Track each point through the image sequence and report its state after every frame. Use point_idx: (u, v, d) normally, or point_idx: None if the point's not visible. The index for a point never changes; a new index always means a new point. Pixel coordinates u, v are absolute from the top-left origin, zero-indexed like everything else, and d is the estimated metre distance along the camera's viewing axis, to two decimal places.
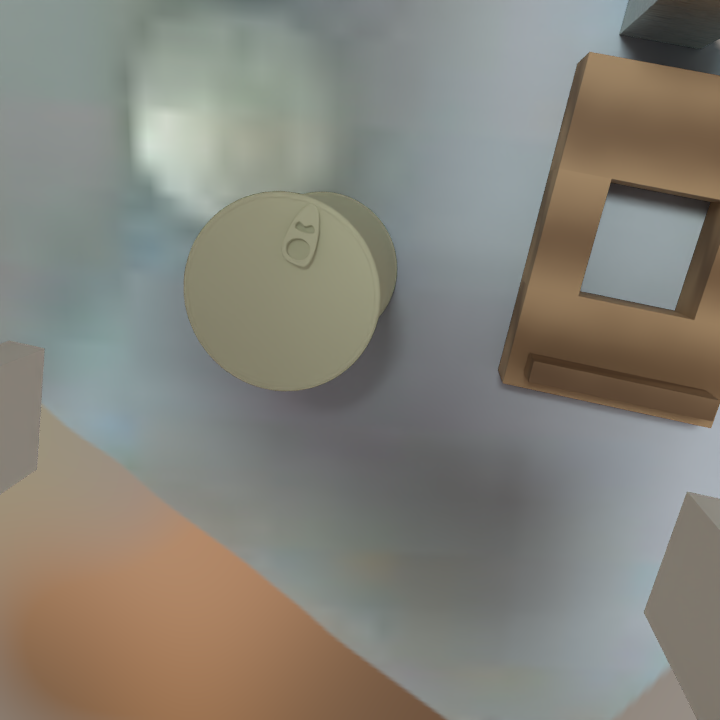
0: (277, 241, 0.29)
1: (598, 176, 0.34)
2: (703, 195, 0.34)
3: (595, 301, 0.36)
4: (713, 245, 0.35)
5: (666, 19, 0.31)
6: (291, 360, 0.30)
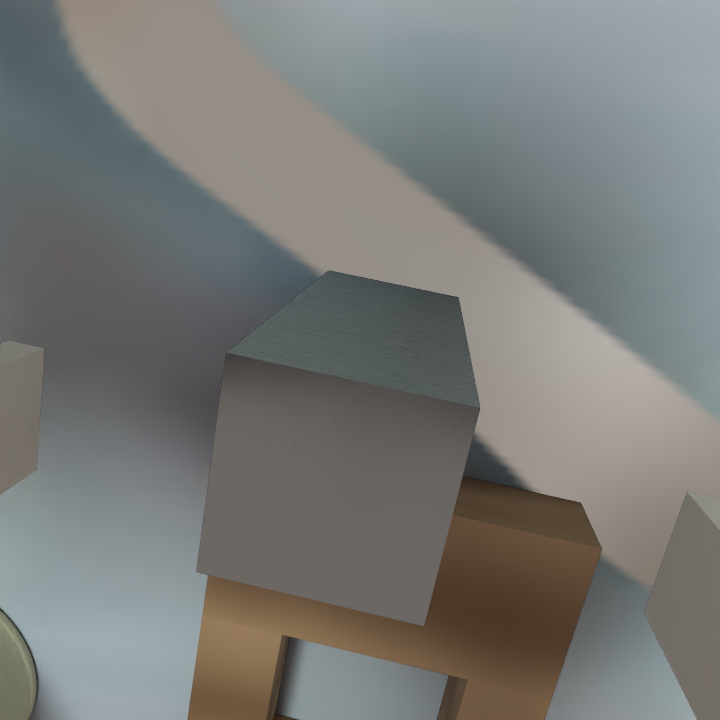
0: None
1: (261, 630, 0.22)
2: (421, 667, 0.22)
3: None
4: (451, 717, 0.23)
5: None
6: None
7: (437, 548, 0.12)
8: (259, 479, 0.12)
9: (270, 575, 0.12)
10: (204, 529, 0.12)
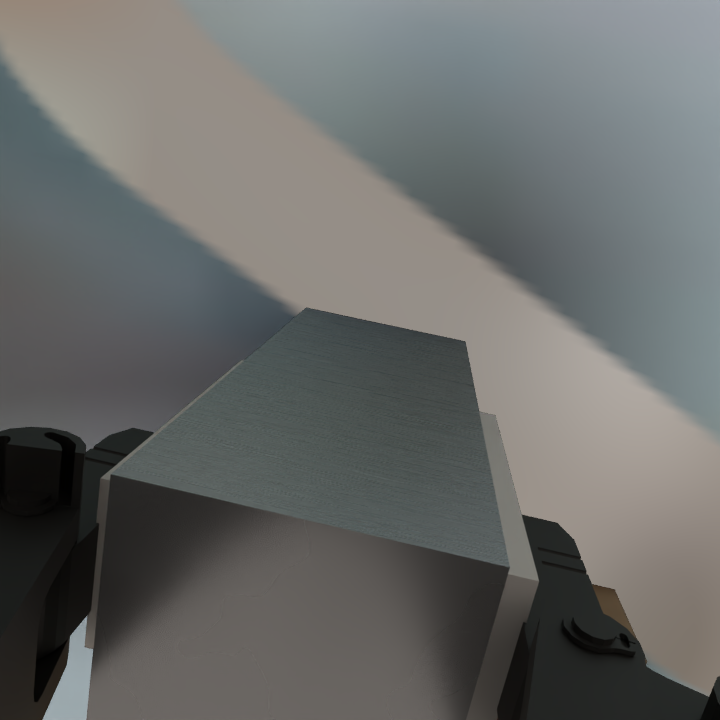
0: None
1: None
2: None
3: None
4: None
5: None
6: None
7: None
8: (168, 661, 0.08)
9: None
10: None
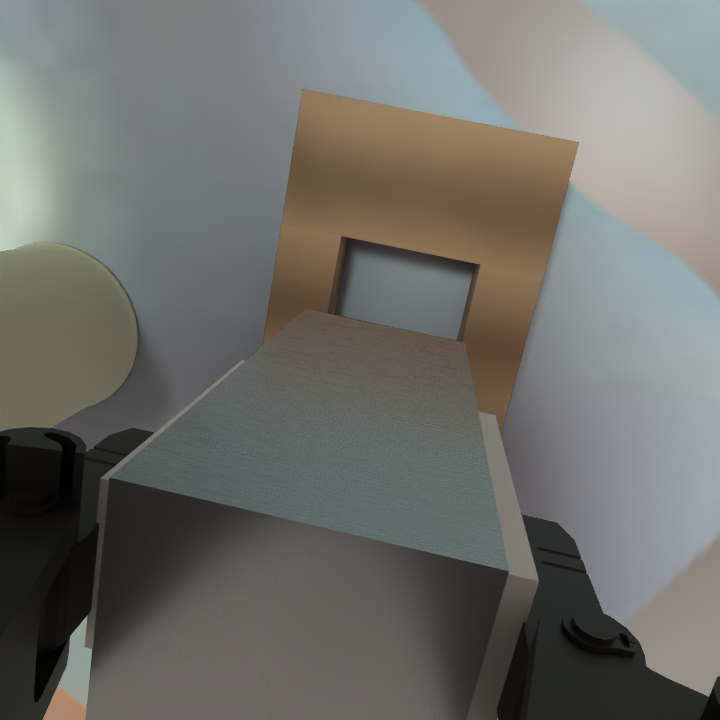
0: None
1: (326, 233, 0.29)
2: (445, 256, 0.29)
3: None
4: (467, 312, 0.30)
5: None
6: None
7: None
8: (167, 664, 0.08)
9: None
10: None
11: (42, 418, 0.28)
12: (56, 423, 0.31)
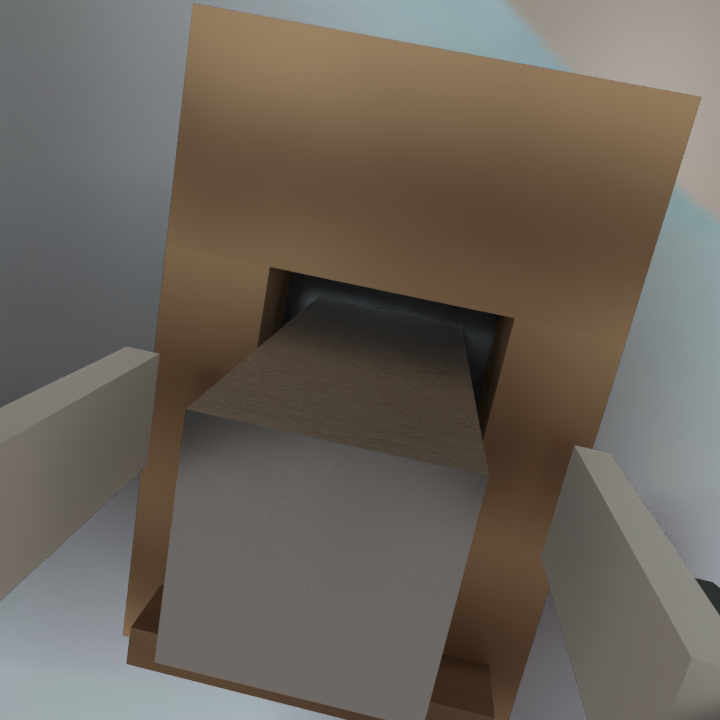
0: None
1: (243, 262, 0.17)
2: (453, 303, 0.16)
3: None
4: (490, 395, 0.18)
5: None
6: None
7: (438, 639, 0.10)
8: (227, 556, 0.10)
9: (241, 667, 0.10)
10: (163, 613, 0.10)
11: None
12: None
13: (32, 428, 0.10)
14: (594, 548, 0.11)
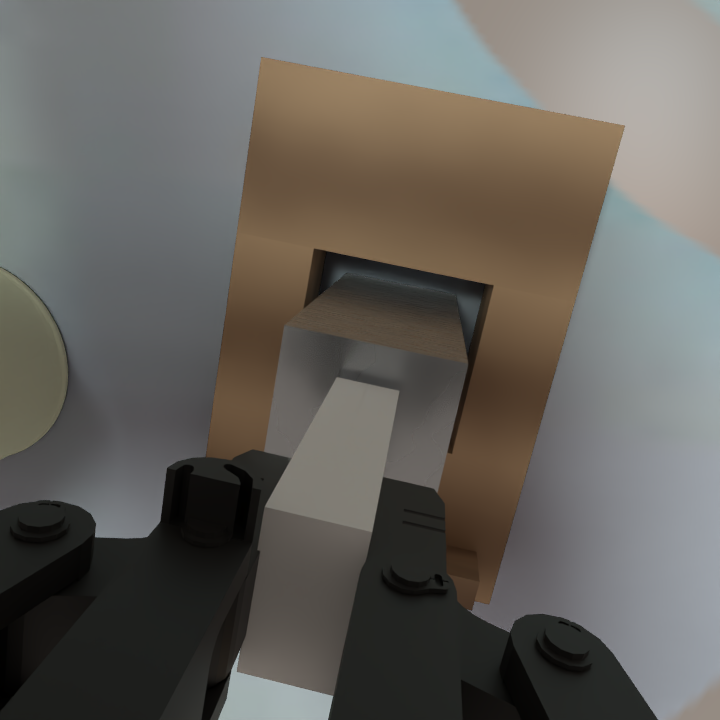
0: None
1: (294, 244, 0.23)
2: (448, 274, 0.22)
3: None
4: (476, 344, 0.24)
5: None
6: None
7: (438, 470, 0.16)
8: (307, 419, 0.16)
9: None
10: None
11: None
12: None
13: (339, 466, 0.10)
14: None
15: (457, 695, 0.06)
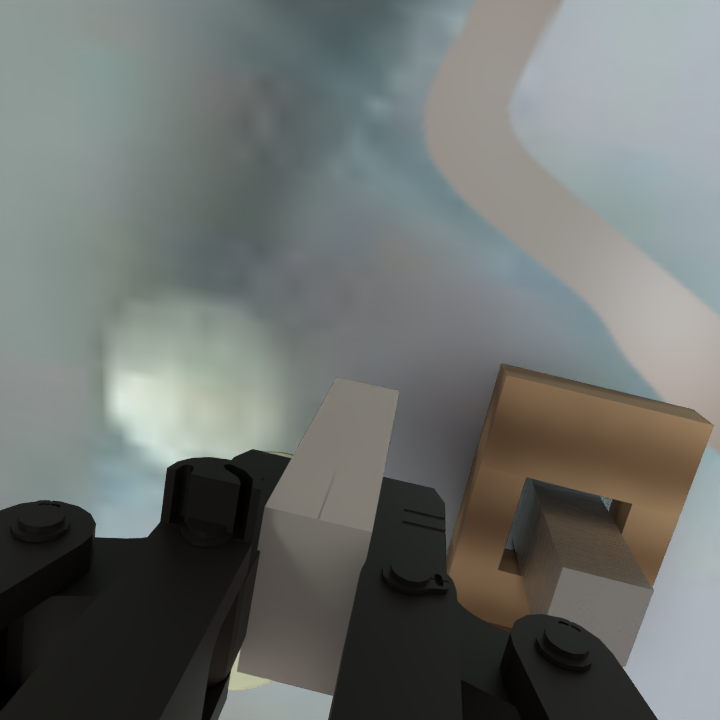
0: None
1: (514, 474, 0.39)
2: (606, 496, 0.39)
3: (513, 574, 0.40)
4: None
5: None
6: None
7: (633, 638, 0.32)
8: (568, 611, 0.32)
9: None
10: None
11: None
12: None
13: (339, 466, 0.10)
14: None
15: (457, 695, 0.06)
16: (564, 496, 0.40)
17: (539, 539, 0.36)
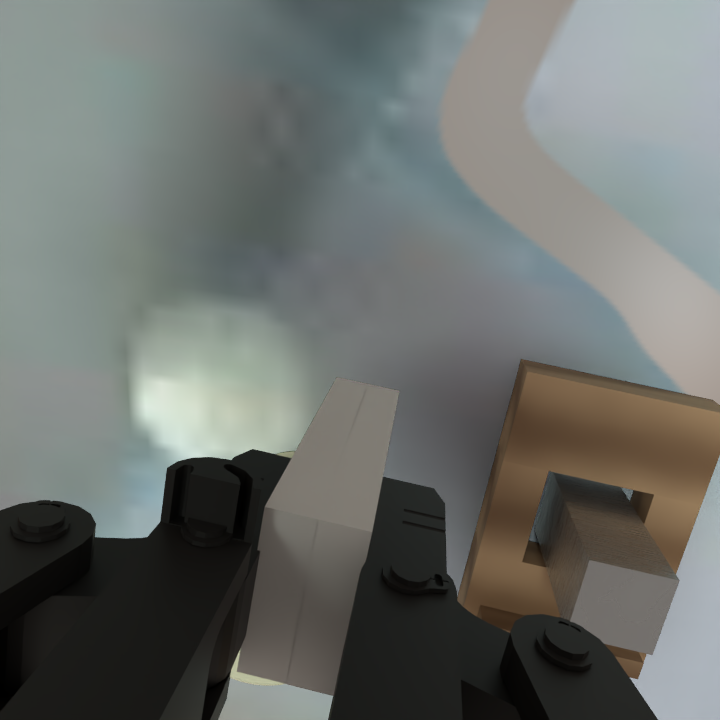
0: None
1: (537, 468, 0.39)
2: (628, 487, 0.39)
3: (537, 566, 0.41)
4: None
5: None
6: None
7: (659, 627, 0.32)
8: (595, 602, 0.32)
9: None
10: (571, 619, 0.33)
11: None
12: None
13: (339, 466, 0.10)
14: None
15: (457, 695, 0.06)
16: (586, 488, 0.41)
17: (563, 532, 0.37)
